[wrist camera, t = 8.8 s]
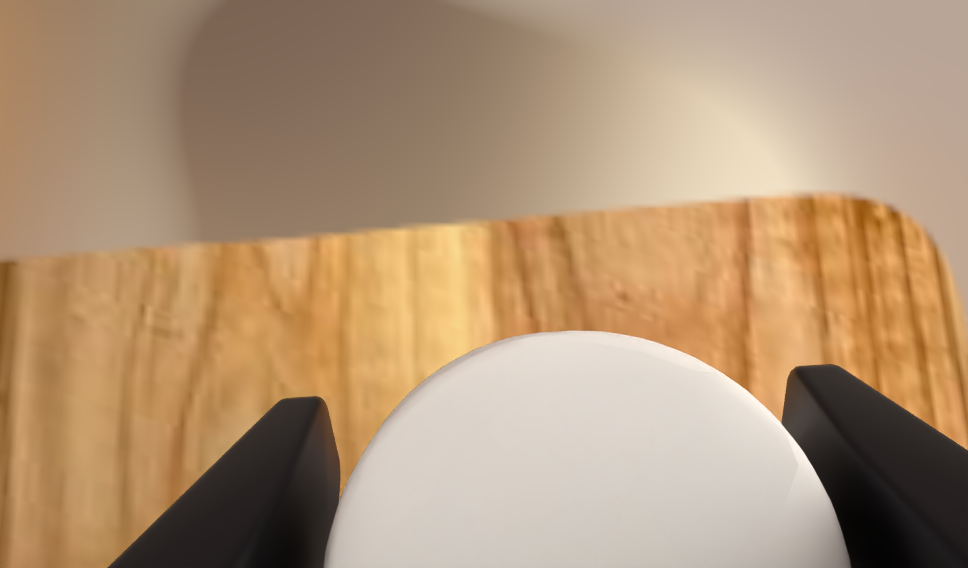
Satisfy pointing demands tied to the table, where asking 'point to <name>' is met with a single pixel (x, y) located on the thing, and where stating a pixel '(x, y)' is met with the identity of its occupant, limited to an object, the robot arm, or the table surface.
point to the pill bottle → (583, 467)
